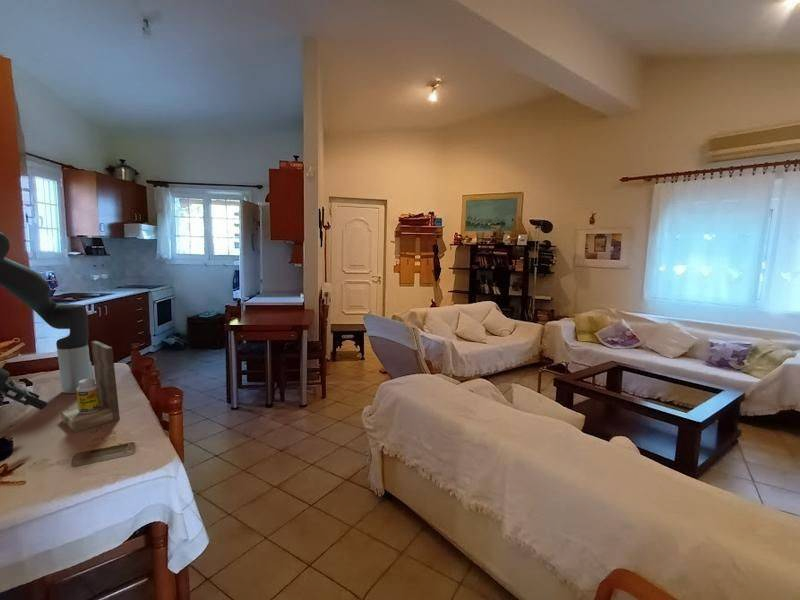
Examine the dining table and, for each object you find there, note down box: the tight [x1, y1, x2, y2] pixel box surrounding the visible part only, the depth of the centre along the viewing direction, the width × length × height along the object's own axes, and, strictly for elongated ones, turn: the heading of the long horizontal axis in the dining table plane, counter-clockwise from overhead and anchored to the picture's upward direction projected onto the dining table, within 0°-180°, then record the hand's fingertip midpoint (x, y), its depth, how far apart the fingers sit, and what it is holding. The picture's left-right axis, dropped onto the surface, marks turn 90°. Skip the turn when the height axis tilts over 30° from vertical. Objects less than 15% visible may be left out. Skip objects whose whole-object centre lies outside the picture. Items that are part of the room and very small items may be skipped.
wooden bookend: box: [60, 340, 121, 433], centre depth 127 cm, size 14×12×24 cm
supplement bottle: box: [75, 378, 100, 414], centre depth 128 cm, size 6×6×10 cm
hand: (40, 402), depth 118 cm, fingers open, 8 cm apart
